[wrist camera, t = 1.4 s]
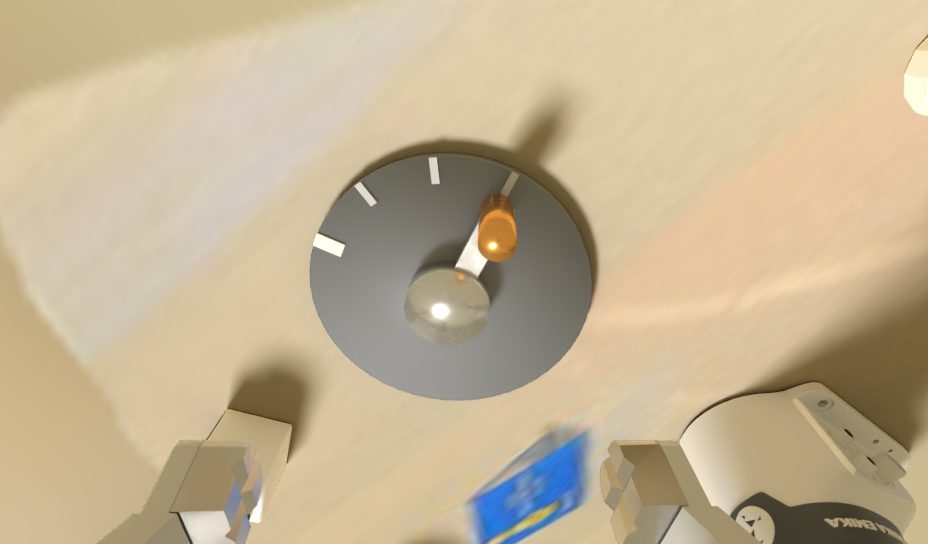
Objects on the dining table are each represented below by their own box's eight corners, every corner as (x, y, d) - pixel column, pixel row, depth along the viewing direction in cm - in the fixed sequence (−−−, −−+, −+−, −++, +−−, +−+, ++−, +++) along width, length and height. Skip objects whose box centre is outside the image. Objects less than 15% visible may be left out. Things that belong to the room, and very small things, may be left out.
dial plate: (647, 232, 39) (651, 239, 38) (508, 422, 50) (508, 433, 49) (367, 96, 35) (363, 100, 34) (283, 335, 46) (278, 344, 45)
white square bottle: (226, 406, 51) (157, 510, 41) (293, 423, 52) (242, 529, 41) (223, 451, 55) (159, 557, 44) (286, 466, 55) (237, 574, 45)
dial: (468, 342, 43) (464, 391, 38) (395, 312, 42) (381, 358, 37) (545, 213, 37) (554, 249, 32) (462, 173, 36) (456, 204, 30)
